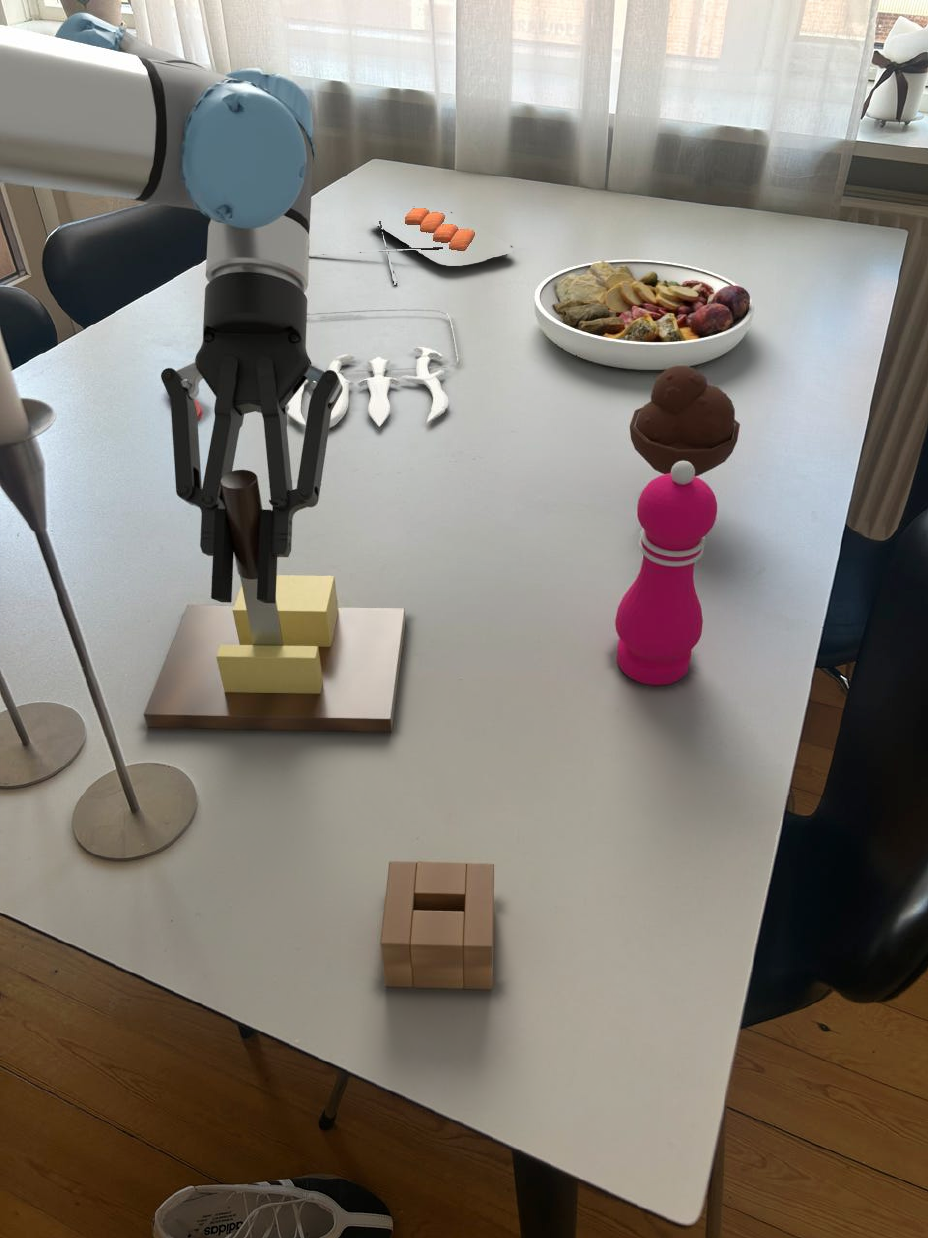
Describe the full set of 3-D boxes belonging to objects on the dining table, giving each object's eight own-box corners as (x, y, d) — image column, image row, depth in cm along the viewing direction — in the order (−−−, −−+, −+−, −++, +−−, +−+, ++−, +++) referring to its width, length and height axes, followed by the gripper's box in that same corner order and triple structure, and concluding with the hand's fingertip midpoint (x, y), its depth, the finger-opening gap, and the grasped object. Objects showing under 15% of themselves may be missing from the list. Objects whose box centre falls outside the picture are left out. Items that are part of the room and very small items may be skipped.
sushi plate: (521, 261, 159) (521, 237, 156) (355, 298, 147) (353, 273, 145) (435, 212, 178) (435, 191, 175) (283, 242, 166) (280, 219, 164)
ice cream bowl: (614, 524, 100) (629, 392, 91) (631, 470, 108) (646, 343, 99) (718, 541, 98) (744, 406, 88) (727, 484, 106) (752, 355, 96)
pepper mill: (593, 656, 85) (614, 458, 72) (651, 623, 88) (681, 428, 75) (653, 702, 80) (687, 500, 67) (712, 666, 84) (755, 466, 71)
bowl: (514, 368, 128) (516, 310, 123) (552, 284, 151) (554, 233, 146) (745, 391, 123) (757, 332, 118) (749, 300, 145) (759, 247, 140)
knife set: (253, 436, 115) (251, 427, 114) (275, 317, 141) (274, 310, 141) (468, 427, 116) (468, 418, 115) (450, 311, 143) (450, 303, 142)
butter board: (147, 727, 79) (143, 714, 78) (190, 617, 89) (187, 604, 88) (391, 732, 78) (390, 719, 77) (405, 620, 89) (404, 608, 88)
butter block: (239, 645, 84) (232, 610, 81) (251, 609, 88) (244, 574, 85) (330, 647, 84) (326, 611, 81) (338, 610, 88) (334, 575, 85)
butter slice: (224, 692, 80) (215, 656, 77) (228, 680, 81) (219, 644, 78) (320, 694, 79) (315, 658, 77) (323, 681, 80) (318, 645, 78)
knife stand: (384, 987, 61) (379, 944, 58) (393, 905, 66) (389, 860, 63) (492, 990, 61) (493, 947, 58) (493, 907, 66) (494, 863, 62)
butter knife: (249, 658, 78) (216, 488, 67) (256, 636, 80) (224, 469, 69) (282, 658, 77) (253, 489, 67) (287, 637, 79) (260, 469, 69)
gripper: (367, 310, 76) (358, 608, 74) (170, 308, 76) (155, 604, 74) (354, 267, 68) (343, 597, 66) (135, 265, 69) (117, 592, 67)
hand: (243, 600), depth 70 cm, fingers closed on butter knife, 3 cm apart
